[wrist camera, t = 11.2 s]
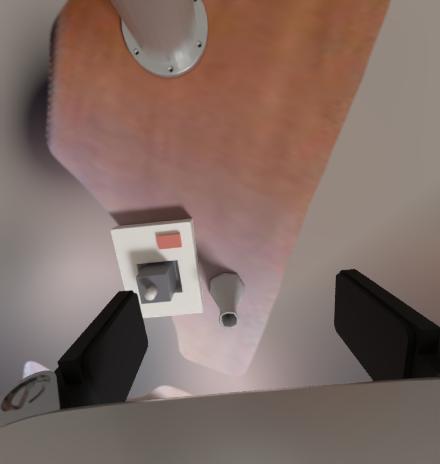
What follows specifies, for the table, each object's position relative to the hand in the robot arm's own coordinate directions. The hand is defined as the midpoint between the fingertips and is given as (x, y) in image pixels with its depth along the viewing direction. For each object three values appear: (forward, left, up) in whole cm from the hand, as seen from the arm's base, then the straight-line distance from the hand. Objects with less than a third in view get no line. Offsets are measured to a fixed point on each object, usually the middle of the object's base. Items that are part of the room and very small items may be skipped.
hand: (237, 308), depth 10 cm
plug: (+11, -13, -29) cm, 34 cm away
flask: (+16, -1, -31) cm, 35 cm away
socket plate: (+10, -13, -30) cm, 34 cm away
